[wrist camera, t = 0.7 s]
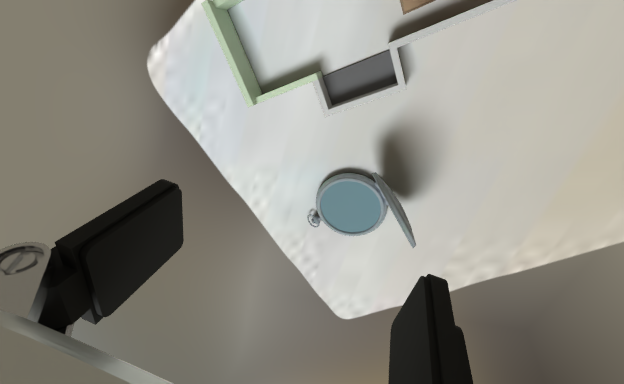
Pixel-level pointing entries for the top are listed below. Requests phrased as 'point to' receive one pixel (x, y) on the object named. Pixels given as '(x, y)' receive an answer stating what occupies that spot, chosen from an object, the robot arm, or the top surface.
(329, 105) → the box
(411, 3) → the walnut block
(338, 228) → the pocket watch
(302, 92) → the top surface
